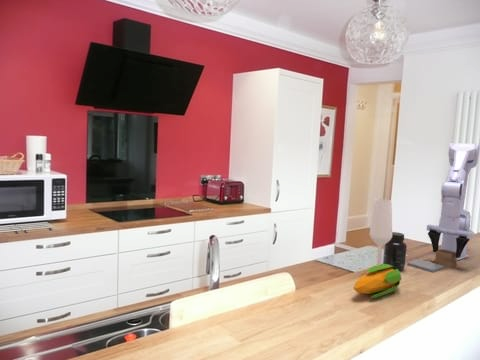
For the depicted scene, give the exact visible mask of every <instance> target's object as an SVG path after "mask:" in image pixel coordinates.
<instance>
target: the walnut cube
mask: <svg viewBox="0 0 480 360" xmlns="http://www.w3.org/2000/svg"><path fill="white" fill-rule="evenodd" d="M434 263H435V264H439V265H443V266H445V268H446V269H453V268H455V267H457V263H458V260H457V258H456V252H453V251H449V250H445V249H438V251H436V252H435V259H434Z"/></svg>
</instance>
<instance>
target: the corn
mask: <svg viewBox="0 0 480 360" xmlns="http://www.w3.org/2000/svg"><path fill="white" fill-rule="evenodd" d="M376 265H377V264H376ZM376 265H374V266H372V267H370V268H369V267H368V269H367V270H366V271H365V272H366V273H365V274H364V275H362V276H360V277H359V278H358V279H357V280H356V281H355V283H354V286H353V290H354V291H355V292H356V293H358V294H369V295H371V294H373V295H371V296H370V299H377V298H380V297H383V296H385V295H388V294H390V293H394V292H395V291H396V290H397V288H398V287H399V285H400V282H401V281H402V273H401V271H399V270H398V269H396V268H395V267H393V266H391V265H388V264H383V263H381V264H380V265H377V266H376Z"/></svg>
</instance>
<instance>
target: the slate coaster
mask: <svg viewBox="0 0 480 360" xmlns="http://www.w3.org/2000/svg"><path fill="white" fill-rule="evenodd" d="M406 265H407V266H410V267H413V268H416V269H419V270H424V271H427V272H431V273H436V272H439V271H441V270H444V269H445V268H446V267H445V266H443V265H439V264H435V262H431V261H429V260H428V261H427V260H424V259H419V258H418V259H415V260H411V261H409V262H407V264H406Z"/></svg>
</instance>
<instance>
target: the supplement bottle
mask: <svg viewBox="0 0 480 360" xmlns="http://www.w3.org/2000/svg"><path fill="white" fill-rule="evenodd" d="M404 241H405V233H401V232H398V231H392V238H391V240H390V241H389V242H387V243H386V244H385V245H383V246H384V248H383V261H382V262H383V263H382V264H388V265H391V266H393V267H395V268H396V269H398V270H399V272H403V271H405V268H406V256H407V255H406V254H407V243H406V242H404Z"/></svg>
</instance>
